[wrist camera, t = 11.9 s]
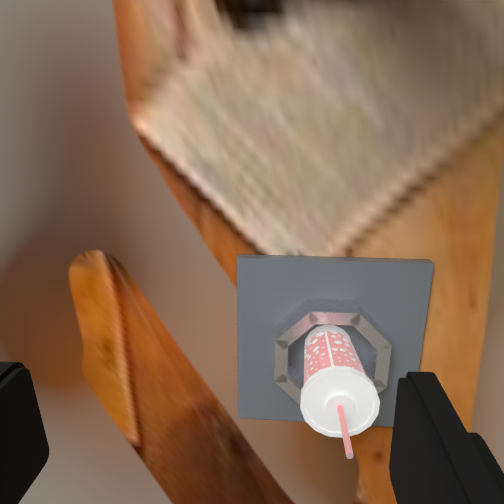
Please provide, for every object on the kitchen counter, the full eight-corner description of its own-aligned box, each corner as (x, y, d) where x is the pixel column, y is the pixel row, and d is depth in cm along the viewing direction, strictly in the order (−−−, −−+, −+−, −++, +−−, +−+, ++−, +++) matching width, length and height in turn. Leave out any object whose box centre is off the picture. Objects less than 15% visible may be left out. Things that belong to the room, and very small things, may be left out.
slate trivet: (238, 254, 39) (236, 258, 38) (429, 259, 38) (434, 263, 37) (239, 410, 44) (238, 417, 43) (407, 419, 43) (410, 427, 42)
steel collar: (276, 296, 39) (275, 309, 36) (387, 300, 38) (395, 314, 35) (273, 389, 42) (273, 408, 39) (376, 395, 41) (383, 415, 38)
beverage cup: (301, 375, 41) (309, 495, 28) (292, 321, 39) (297, 421, 26) (362, 369, 40) (400, 489, 27) (356, 313, 39) (394, 412, 25)
